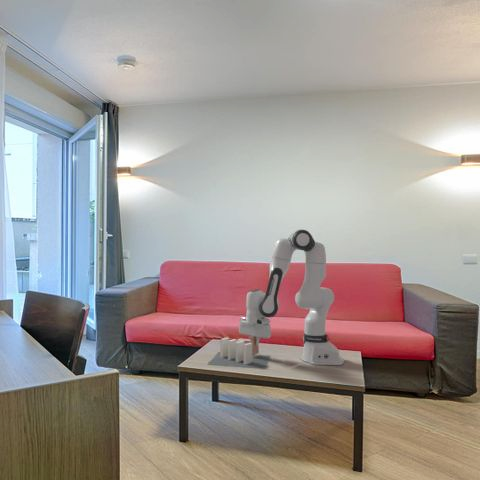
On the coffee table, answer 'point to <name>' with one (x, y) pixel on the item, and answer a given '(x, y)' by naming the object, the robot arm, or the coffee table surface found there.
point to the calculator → (243, 340)
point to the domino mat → (241, 362)
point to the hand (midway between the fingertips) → (254, 344)
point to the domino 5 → (254, 346)
